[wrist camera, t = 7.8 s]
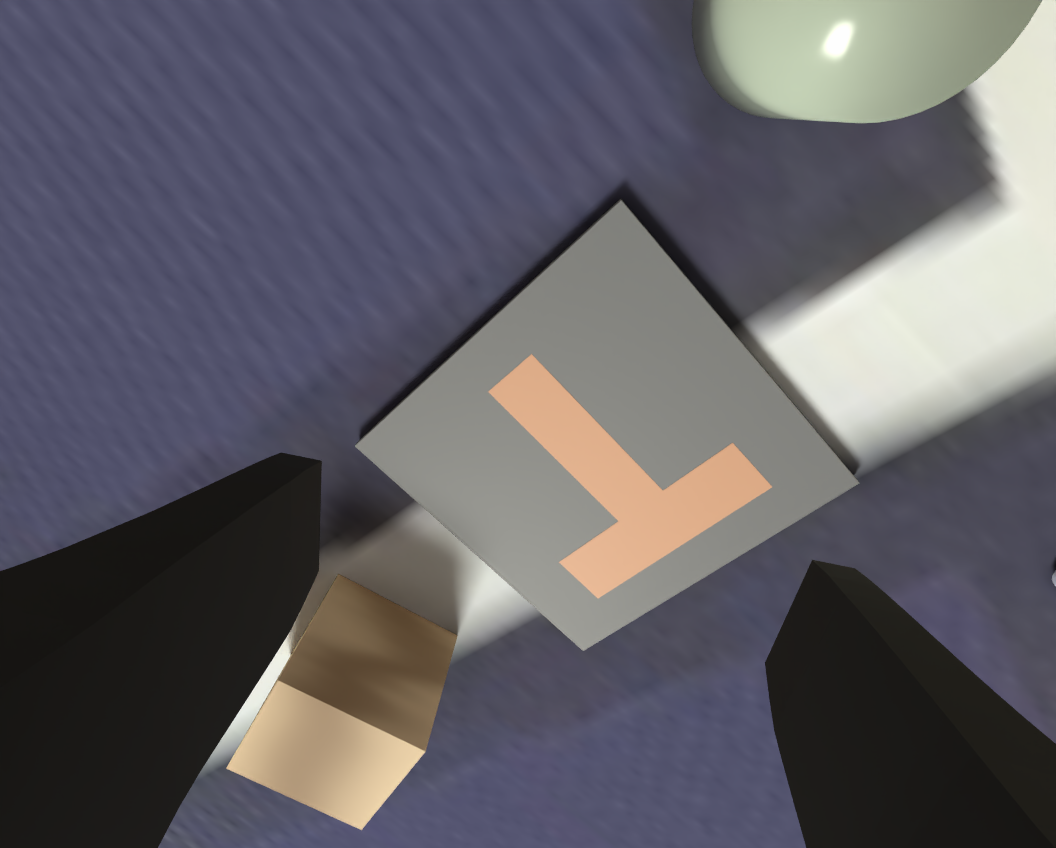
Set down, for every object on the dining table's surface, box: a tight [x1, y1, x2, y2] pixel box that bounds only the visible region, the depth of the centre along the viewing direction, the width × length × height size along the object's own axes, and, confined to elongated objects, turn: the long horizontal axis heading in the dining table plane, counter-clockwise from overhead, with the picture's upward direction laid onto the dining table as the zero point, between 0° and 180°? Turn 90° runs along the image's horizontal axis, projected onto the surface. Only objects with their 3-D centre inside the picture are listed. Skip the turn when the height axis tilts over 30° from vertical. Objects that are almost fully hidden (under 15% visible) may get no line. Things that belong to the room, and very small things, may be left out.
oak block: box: [226, 574, 457, 830], centre depth 23 cm, size 5×5×5 cm
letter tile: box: [355, 199, 859, 651], centre depth 20 cm, size 11×11×1 cm
